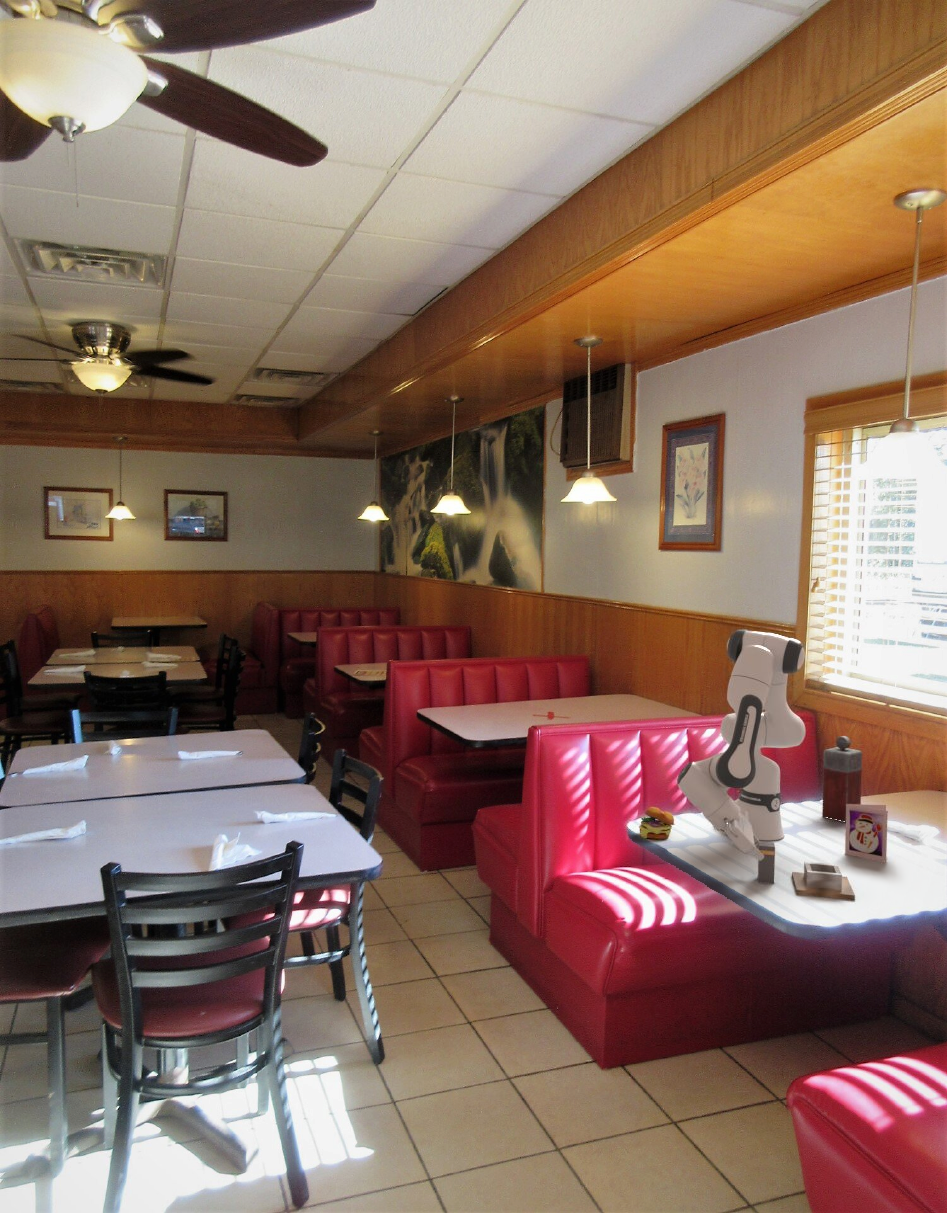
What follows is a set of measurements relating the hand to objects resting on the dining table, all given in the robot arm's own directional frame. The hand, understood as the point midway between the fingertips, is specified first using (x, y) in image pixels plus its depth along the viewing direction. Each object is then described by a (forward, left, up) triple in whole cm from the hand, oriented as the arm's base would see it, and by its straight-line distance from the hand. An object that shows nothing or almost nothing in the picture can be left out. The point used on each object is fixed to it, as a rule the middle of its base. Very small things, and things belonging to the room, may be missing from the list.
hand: (761, 852), depth 236 cm
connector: (+1, +1, -7) cm, 8 cm away
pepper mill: (-29, +72, -8) cm, 78 cm away
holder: (+12, +10, -7) cm, 17 cm away
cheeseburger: (-44, +2, -8) cm, 45 cm away
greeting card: (+1, +44, -8) cm, 45 cm away
